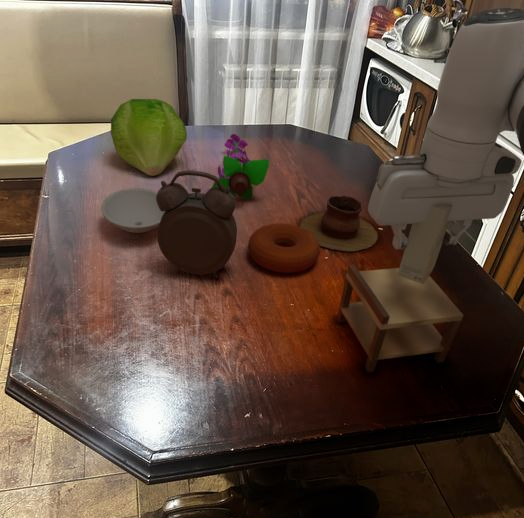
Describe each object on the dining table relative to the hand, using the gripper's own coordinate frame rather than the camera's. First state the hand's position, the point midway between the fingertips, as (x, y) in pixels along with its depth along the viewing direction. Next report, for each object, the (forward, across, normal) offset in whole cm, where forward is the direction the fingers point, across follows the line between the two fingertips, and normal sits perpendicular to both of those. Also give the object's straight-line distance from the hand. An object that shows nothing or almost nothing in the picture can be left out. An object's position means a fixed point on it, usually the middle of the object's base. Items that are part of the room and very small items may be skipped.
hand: (424, 245), depth 77 cm
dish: (+19, -40, +44) cm, 62 cm away
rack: (+19, -1, 0) cm, 19 cm away
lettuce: (+19, -34, +77) cm, 86 cm away
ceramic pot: (+19, +4, +37) cm, 42 cm away
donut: (+19, -12, +28) cm, 36 cm away
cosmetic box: (+5, 0, 0) cm, 5 cm away
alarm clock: (+19, -30, +26) cm, 44 cm away
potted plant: (+19, -14, +67) cm, 71 cm away
